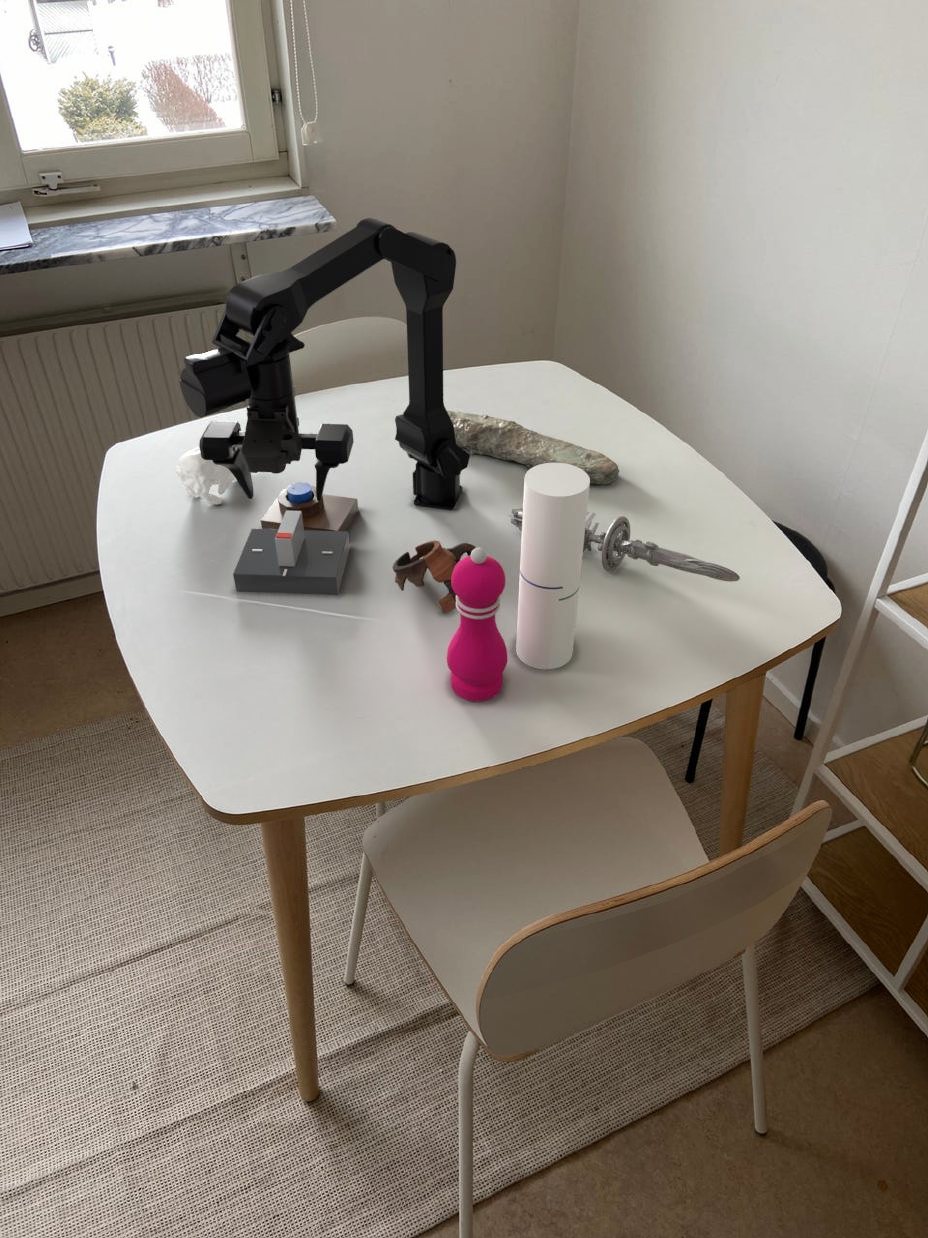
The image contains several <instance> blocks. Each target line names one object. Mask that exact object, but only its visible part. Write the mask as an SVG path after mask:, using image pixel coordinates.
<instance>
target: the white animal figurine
mask: <svg viewBox="0 0 928 1238" xmlns="http://www.w3.org/2000/svg"><path fill="white" fill-rule="evenodd" d="M175 473H176V475H177V476H178V478H179V481H180V484H181V485H182V486H183V488H184V490H185V492H186V493H187V494H188V495H190V496H191V497H192V498H196V499H197V498H200V499H202V500H203V501H205V502H206V503H208V504H210V505H216V506H217V505H221V504H222V502H223V501H222V500H221V498H220V497H218V496H217V495H215V494H214V493H210V489H211V487H212V486H214V485H215V486H216V485H218V487H217V492H218V494H219V495H223V494H224V493H225V492H226V490H227V489H228V488H229V487H230V485H231V483H232V482H233V481H234V482H238V481H237V479H236V478H235V476H234V475H233V474H232V473H231V471H230V470H229V469H228V468H226V467H224V466H222V465H216V464H214V463H213V461H212V460H204V459H203V458H201V453H200V448H199V446H198V447H195V448H193V449H190V450H189V451H187V452H186V453H185V454H183V455H182V456H180V458H179V459H178V463H177V467H176V470H175Z"/></svg>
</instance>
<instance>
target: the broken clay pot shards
mask: <svg viewBox="0 0 928 1238" xmlns="http://www.w3.org/2000/svg"><path fill="white" fill-rule="evenodd" d="M475 548H477V547H476V546H475V545H474V544H472V543H468V542H462V543H459V544H456V545H455V546H453V547H448V548H446V547H443V546H442V544H441V542H440V540H430V541H427V542H423V543H421V544H419V545H417V546H415V547H414V549H415V552H416V554H414V555H413V556H412V557H411V555H410V552H408V551H406V552H405V553H403V554H402V555H401V556H399V557H398V558H397V559H396V560H395V562H393V564H392V567H391V568H392V570H393V572H394V573H395V576H394V582H395V583H396V584H397V585H398V588H399V589H400V590H401V591H402V592H403V591H404V590H405V584H406V581H408V582H409V583H412V584H413V585H414V586H415V587H420V588H421V587H424V586H425V581H424V579H425V574H426V572H427V569H428V571H429V573H430V574H431V577H432V579H433V580H434V581H435V582H436V583H439V584H441V583H442V584H444V586H445V587H446V588H447V590H448V593H447V594H445V595H444V596H443V597H441V598H439V599H438V600H437V604H438V605H439V607H440V609H441V611H442V613H443V614H448V613H449V612H451V611H453V610H455V609H457V608H456V594H455V593H454V590H453V588H452V584H451V577H452V572H453V570H454V568H455V566H456V564H457V563H458V562H459V561H460V560H462V557H463V556H464V554H467V556H470V555H471V552H472V550H474V549H475Z"/></svg>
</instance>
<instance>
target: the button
mask: <svg viewBox="0 0 928 1238" xmlns="http://www.w3.org/2000/svg"><path fill="white" fill-rule="evenodd" d="M286 488H287V494H288V500H289V502H291V503H296V504H301V503H307V502H309V501H311V500H312V498H313V496H312V488H311V484H310V483H309V482H304V481H299V482H293V483H291V484H289V485H288V486H287V487H286Z"/></svg>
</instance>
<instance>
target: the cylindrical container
mask: <svg viewBox="0 0 928 1238" xmlns="http://www.w3.org/2000/svg"><path fill="white" fill-rule="evenodd" d="M523 479H524V480H523V499H522V500H523V501H522V507H523V519H522V531H521V541H520V544H521V545H520V558H519V559H520V560H519V561H520V562H519V563H520V564H519V580H518V581H519V583H518V586H519V587H518V600H517V601H518V604H517V620H516V621H517V623H516V624H517V625H516V644H515V650H516V652H515V653H516V655H517V657H518V658H519V660H520V661H521V662H522V663H523V664H525V665H526V666H529V667H531V668H534V669H538V670H555V669H559V668H561V667H563V666H565V665H566V664H568V663H569V662H570V660H571V659H572V657H573V654H574V653H573V652H574V642H575V633H576V622H577V612H578V603H579V593H580V583H581V573H582V563H583V555H584V552H583V545H584V535H585V525H586V521H587V516H588V515H587V511H588V506H589V505H588V504H589V496H590V495H589V493H590V486H591V485H590V484H591V483H590V478H589V476H588V474H587V473H586V472H585V471H583V470H582V469H580V468H578V467H576V466H573V465H570V464H565V463H544V464H540V465H537V466H535V467H533V468H529V469H528V470H527V471H526V473H525V475H524V477H523ZM586 515H587V516H586Z"/></svg>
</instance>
